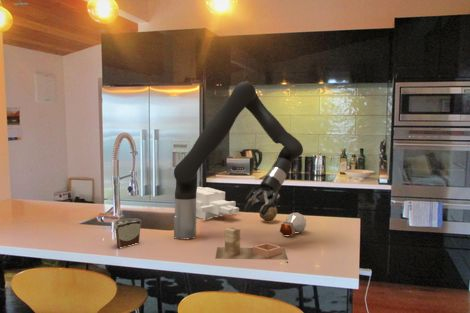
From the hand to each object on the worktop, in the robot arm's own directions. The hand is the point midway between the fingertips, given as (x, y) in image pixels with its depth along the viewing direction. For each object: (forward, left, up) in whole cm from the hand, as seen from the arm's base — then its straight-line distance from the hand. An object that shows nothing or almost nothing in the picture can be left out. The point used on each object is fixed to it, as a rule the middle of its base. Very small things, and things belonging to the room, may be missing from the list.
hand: (253, 212), depth 168 cm
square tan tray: (+5, -8, -14) cm, 17 cm away
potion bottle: (+19, +27, -16) cm, 36 cm away
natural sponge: (+9, +50, -15) cm, 53 cm away
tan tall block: (-8, -8, -14) cm, 18 cm away
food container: (-52, +6, -15) cm, 54 cm away
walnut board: (-1, -8, -15) cm, 17 cm away
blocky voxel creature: (-19, +59, -16) cm, 64 cm away
